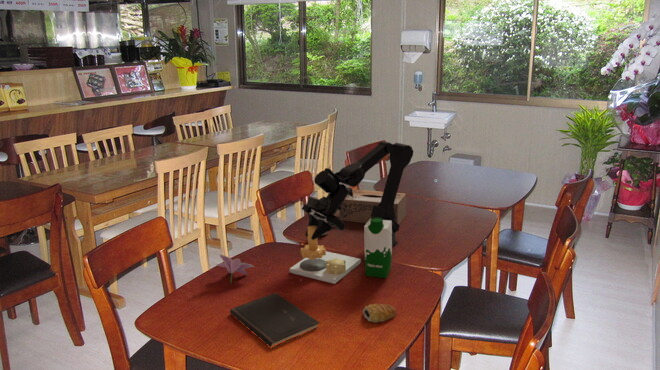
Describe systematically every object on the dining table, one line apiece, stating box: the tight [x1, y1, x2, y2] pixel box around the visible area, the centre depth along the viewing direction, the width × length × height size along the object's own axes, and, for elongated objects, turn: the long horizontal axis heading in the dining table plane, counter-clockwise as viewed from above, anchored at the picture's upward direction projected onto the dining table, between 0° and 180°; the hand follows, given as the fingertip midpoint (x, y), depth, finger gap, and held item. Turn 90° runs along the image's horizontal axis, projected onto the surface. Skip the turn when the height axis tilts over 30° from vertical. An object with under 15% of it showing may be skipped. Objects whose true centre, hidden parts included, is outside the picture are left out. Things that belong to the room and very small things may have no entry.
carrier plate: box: [289, 250, 362, 285], centre depth 187 cm, size 18×18×4 cm
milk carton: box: [363, 218, 393, 279], centre depth 180 cm, size 9×9×20 cm
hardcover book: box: [229, 292, 320, 347], centre depth 155 cm, size 16×23×2 cm
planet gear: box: [300, 225, 327, 260], centre depth 184 cm, size 9×9×10 cm
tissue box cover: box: [338, 188, 407, 225], centre depth 233 cm, size 26×14×10 cm, turn 69°
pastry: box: [362, 303, 397, 324], centre depth 156 cm, size 9×7×4 cm
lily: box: [216, 254, 255, 284], centre depth 181 cm, size 12×12×10 cm
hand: (309, 237), depth 183 cm, fingers closed on planet gear, 3 cm apart
